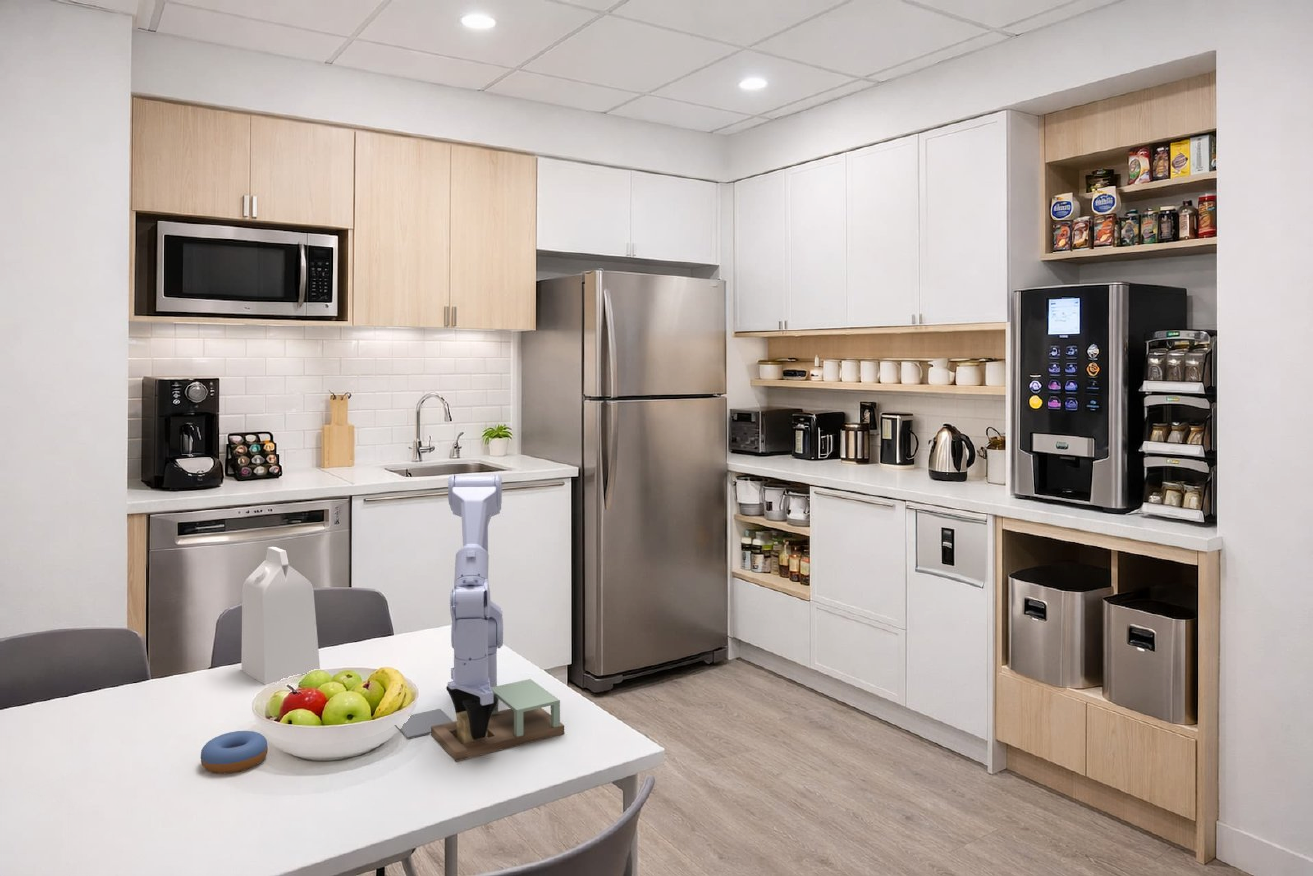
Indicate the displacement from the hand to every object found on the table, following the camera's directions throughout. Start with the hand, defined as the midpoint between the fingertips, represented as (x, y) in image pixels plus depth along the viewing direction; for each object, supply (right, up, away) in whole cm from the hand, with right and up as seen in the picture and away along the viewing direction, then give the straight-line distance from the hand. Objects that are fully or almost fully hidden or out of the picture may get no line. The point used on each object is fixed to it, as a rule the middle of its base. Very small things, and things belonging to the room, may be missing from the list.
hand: (471, 731), depth 151 cm
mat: (-10, -1, +7) cm, 12 cm away
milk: (-47, +1, +34) cm, 58 cm away
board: (+4, -2, +3) cm, 5 cm away
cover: (+8, 0, +6) cm, 10 cm away
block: (0, -2, 0) cm, 2 cm away
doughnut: (-37, -3, -8) cm, 38 cm away
